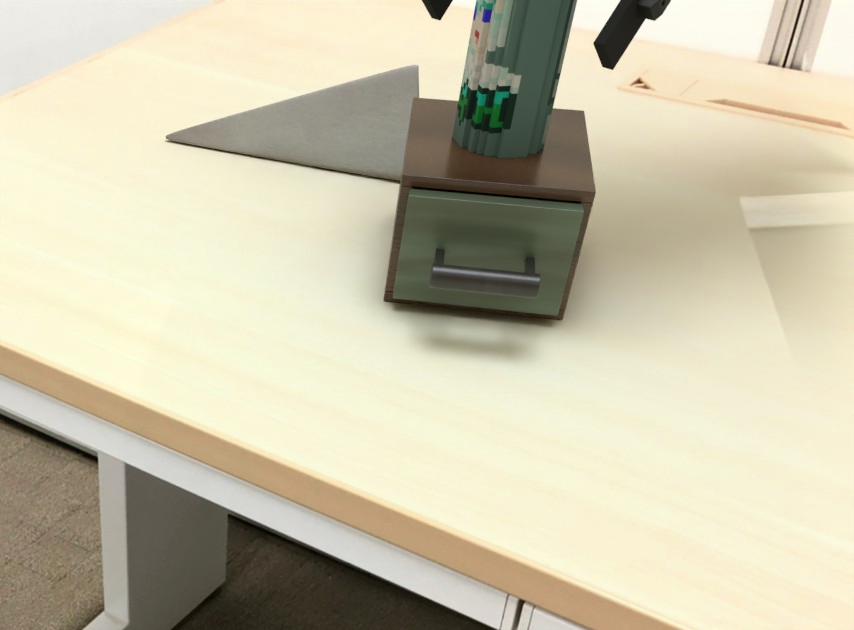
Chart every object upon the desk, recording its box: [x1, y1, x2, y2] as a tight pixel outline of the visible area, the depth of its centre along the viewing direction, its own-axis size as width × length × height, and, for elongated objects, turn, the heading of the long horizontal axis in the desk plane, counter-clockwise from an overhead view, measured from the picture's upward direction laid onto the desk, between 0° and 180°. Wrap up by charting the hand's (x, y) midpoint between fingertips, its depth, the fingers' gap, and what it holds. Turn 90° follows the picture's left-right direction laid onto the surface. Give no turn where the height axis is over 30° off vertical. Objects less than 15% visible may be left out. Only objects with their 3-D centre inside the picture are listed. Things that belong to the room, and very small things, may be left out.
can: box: [452, 0, 578, 158], centre depth 84 cm, size 6×6×15 cm
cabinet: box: [383, 97, 597, 320], centre depth 92 cm, size 15×13×10 cm
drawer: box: [393, 187, 584, 316], centre depth 89 cm, size 18×11×8 cm, turn 167°
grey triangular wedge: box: [165, 64, 420, 182], centre depth 109 cm, size 10×8×22 cm
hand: (511, 31), depth 82 cm, fingers open, 13 cm apart
